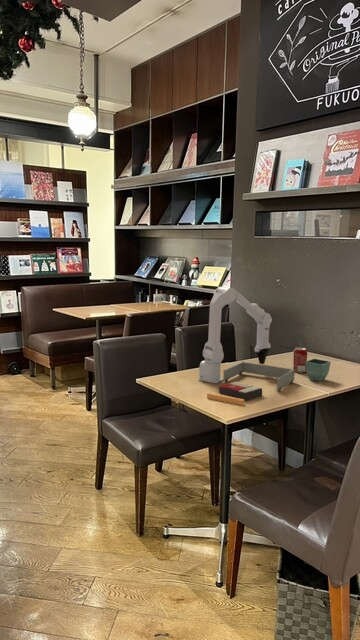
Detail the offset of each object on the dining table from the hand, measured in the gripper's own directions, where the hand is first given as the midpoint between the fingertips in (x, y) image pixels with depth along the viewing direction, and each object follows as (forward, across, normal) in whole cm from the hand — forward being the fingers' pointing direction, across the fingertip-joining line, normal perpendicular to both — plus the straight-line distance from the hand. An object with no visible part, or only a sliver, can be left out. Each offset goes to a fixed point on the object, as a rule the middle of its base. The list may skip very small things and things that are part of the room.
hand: (261, 363), depth 227 cm
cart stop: (+5, -48, -5) cm, 49 cm away
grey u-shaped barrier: (+5, -15, -5) cm, 17 cm away
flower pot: (+6, +5, -26) cm, 27 cm away
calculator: (+6, -36, -6) cm, 37 cm away
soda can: (+6, +15, -14) cm, 22 cm away
